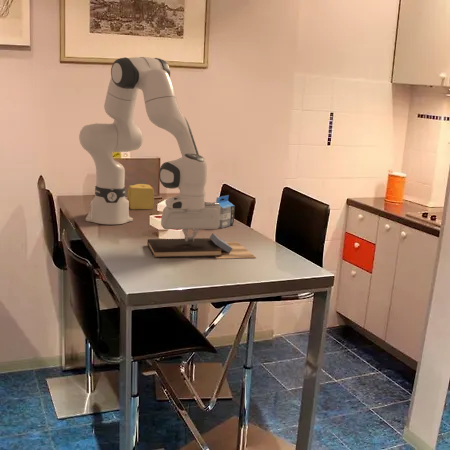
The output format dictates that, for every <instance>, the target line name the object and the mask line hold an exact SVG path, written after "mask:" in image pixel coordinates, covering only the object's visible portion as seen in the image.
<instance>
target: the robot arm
mask: <svg viewBox="0 0 450 450" xmlns="http://www.w3.org/2000/svg"><path fill="white" fill-rule="evenodd" d="M110 76H111V77H110V80H109V83H108V87H107V92H106V96H105V100H104V105H103V107H104V108H103V109H104V112H105V113H106V115H108V116H109V117H110V118H111V119H112V120H113V122H112V123H97V122H96V123H91V124H87V125H84V126H82V127H81V129H80V131H79V135H78V138H79V139H78V140H79V144H80V146H81V147H82V148H83V149H84V150H85V151H86V152H87V153H88V154H89V155H90V156H91V158H92V160H93V162H94V165H95V171H96V176H95V177H96V182H95V183H96V185H95V186H94V187H95V188H94V195H95V196H94V198H93V199H92V200H91V201H90V202H89V203H88V208H89V211H88V213H87V215H86V217H85V221H86V222H92V223H95V224H100V225H121V224H126V223H128V222H133V221H134V218H133V217H131V216H130V214H129V213H130V207H129V201H128V200H127V197H126V193H127V191H126V187H125V180H126V179H125V178H126V169H125V167H124V164H121V163H120V162H119V161H118V160H115V159H114V156H113V153H118V152H119V153H124V152H125V153H127V152H133V151H137V150H139V149H140V148H141V147H142V145H143V141H144V135H143V132H142V130H141V128H140V127H139V126H138V125H137V124H136V121H135V119H134V110H135V106H136V101H137V97H138V92H139V90H141V91H142V95H143V101H144V105H145V111H146V115H147V117H148V119H149V121H150V122H151V123H152V124H153V125H154V126H156V127H158V128H160V129H163V130H165V131H167V132H168V133H170V134H171V135H172V136H174V138H175V139H176V142H177V145H178V147H179V151H180V154H181V157H180V158H179V157H178V158H176V159H174V160H168V161H165V162H163V163H162V164H161V165H160V168H159V171H158V179H159V182H160V183H161V185H162V186H163V187H164V188H166V189H173V190H174V189H178V190H179V193H178V194H179V195H176V196H172V197H170V198H166V199H165V205H166V206H165V207H164V208H163V209H162V214H161V221H160V225H161V226H160V227H162V228H163V229H164V230H182V233H183V234H184V239H185V241H186V242H188V241H194V238H196V236H197V235H198V233H199V230H218V229H219V226H220V219H219V214H220V209H221V207H220V205H219V204H217V203H216V202H215V201H214V202H212V201H211V202H209V201H207V202H206V188H205V186H206V183H207V179H208V178H207V177H208V175H207V172H208V171H207V170H208V167H207V161H206V159H205V158H204V157H203V156H202V155H200V154H199V151H198V148H197V146H196V141H195V138H194V135H193V133H192V129H191V126H190V124H189V122H188V120H187V118H186V117H185V116H184V115H183V113H182V112H181V110H180V107H179V104H178V100H177V96H176V91H175V87H174V85H173V82H172V79H171V69H170V66H169V64H168V62H167V61H166V60H165V59H161V58H160V57H159V58H157V57H146V56H138V57H137V56H135V57H119V58H116V59H115V60H114V61H113V63H112V65H111V69H110ZM189 230H192V231H193V232H192V234H191V235H188V234H187V233H188V232H189Z"/></svg>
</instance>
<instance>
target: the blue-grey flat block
mask: <svg viewBox="0 0 450 450" xmlns="http://www.w3.org/2000/svg"><path fill="white" fill-rule="evenodd" d="M209 238H210V239H211V240H212V241H213V242H214V243H215V244H216V245H217V246H219V247H220V248H222V249H223V250H225V251H226V252H228V253H230V252H231V250H232V248H231V247H230V246H229V245H228V244H227V243H226V242H227V241H225V240H224V239H222V238H221V237H219V236H218V235H217V234H214V232H212V233H211V235H210V236H209Z"/></svg>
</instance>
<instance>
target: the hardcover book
mask: <svg viewBox="0 0 450 450" xmlns="http://www.w3.org/2000/svg"><path fill="white" fill-rule="evenodd" d="M146 243H147V248H148V249H149V251H150V253H151V254H152V256H153V258H154V259H167V258H170V259H174V258H175V259H176V258H177V259H178V258H208V257H209V258H211V257H212V258H213V257H220V256H222V255H221V251H222V250H221V249H220V247H219V246H217V245H216V244H215V243H214V242H213V241H212V240H211V239H210V237H207V238H205V237H203V238H197V237H194V241H188V242H186V241H185V238H149V239H147V242H146Z"/></svg>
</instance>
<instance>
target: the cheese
mask: <svg viewBox="0 0 450 450" xmlns="http://www.w3.org/2000/svg"><path fill="white" fill-rule="evenodd" d="M126 199H127V200H128V201H129V210H153V207H154V202H155V190H154V187H152V186H151V185H150V184H148V183H147V184H146V183H137V184H134V185H133V184H132V185H129V186H128V188H127V197H126Z"/></svg>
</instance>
